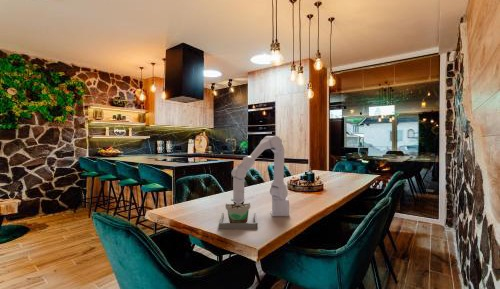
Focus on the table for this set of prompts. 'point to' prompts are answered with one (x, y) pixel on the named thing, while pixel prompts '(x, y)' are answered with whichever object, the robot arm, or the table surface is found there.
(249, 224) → the dock
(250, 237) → the table surface
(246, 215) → the food container
